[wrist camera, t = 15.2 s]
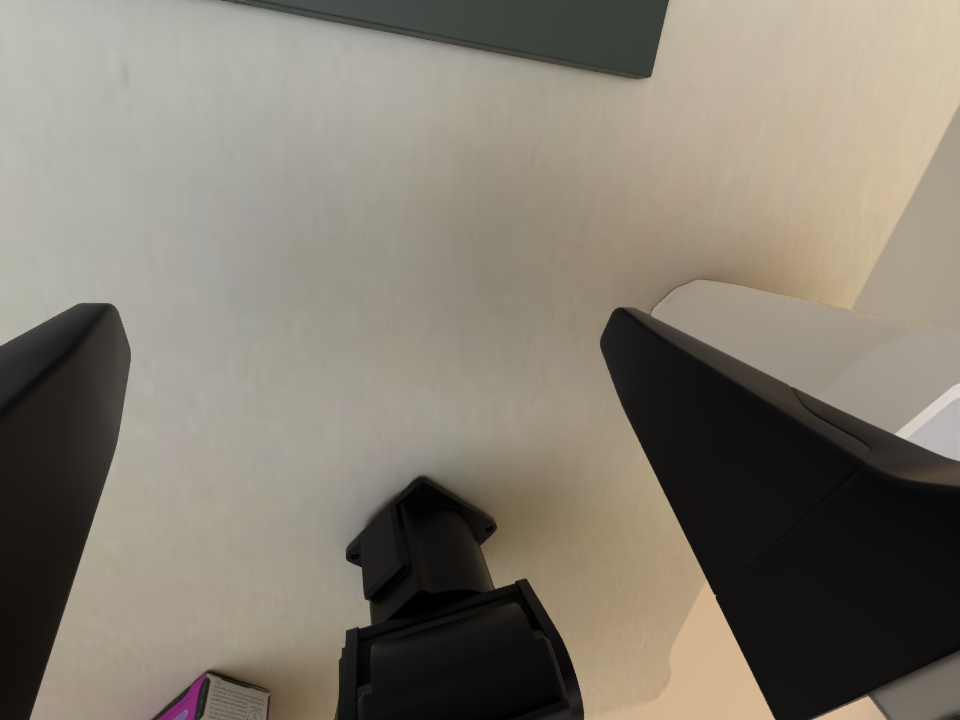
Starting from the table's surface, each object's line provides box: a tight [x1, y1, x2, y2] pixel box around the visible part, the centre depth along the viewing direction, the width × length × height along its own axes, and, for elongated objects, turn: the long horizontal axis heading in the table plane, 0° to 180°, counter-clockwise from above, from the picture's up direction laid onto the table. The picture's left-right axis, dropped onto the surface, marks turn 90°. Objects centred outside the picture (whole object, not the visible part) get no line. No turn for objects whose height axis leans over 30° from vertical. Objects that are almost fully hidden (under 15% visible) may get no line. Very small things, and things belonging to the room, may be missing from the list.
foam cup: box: [650, 279, 960, 461], centre depth 21 cm, size 10×9×13 cm
